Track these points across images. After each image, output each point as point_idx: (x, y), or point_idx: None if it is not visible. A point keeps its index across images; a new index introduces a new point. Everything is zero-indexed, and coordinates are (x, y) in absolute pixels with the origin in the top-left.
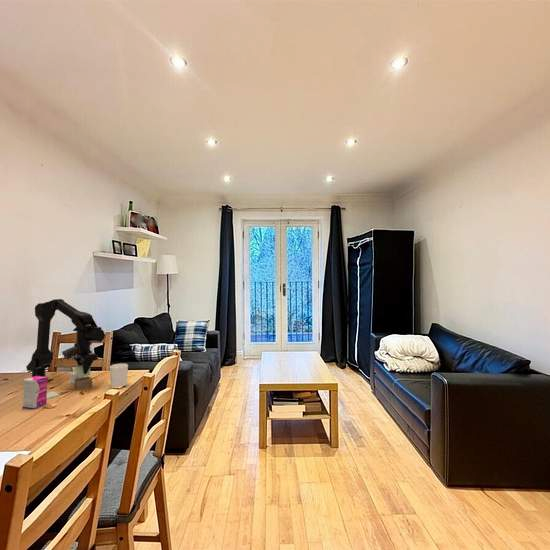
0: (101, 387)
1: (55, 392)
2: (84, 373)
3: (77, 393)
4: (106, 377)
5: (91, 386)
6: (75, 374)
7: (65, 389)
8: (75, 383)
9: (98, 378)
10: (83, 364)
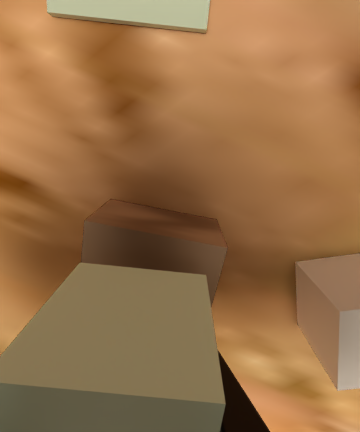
0: (31, 316)
1: (167, 21)
2: None
3: (12, 151)
4: None
5: None
6: (347, 314)
7: (210, 141)
8: (186, 225)
9: (260, 396)
10: None
